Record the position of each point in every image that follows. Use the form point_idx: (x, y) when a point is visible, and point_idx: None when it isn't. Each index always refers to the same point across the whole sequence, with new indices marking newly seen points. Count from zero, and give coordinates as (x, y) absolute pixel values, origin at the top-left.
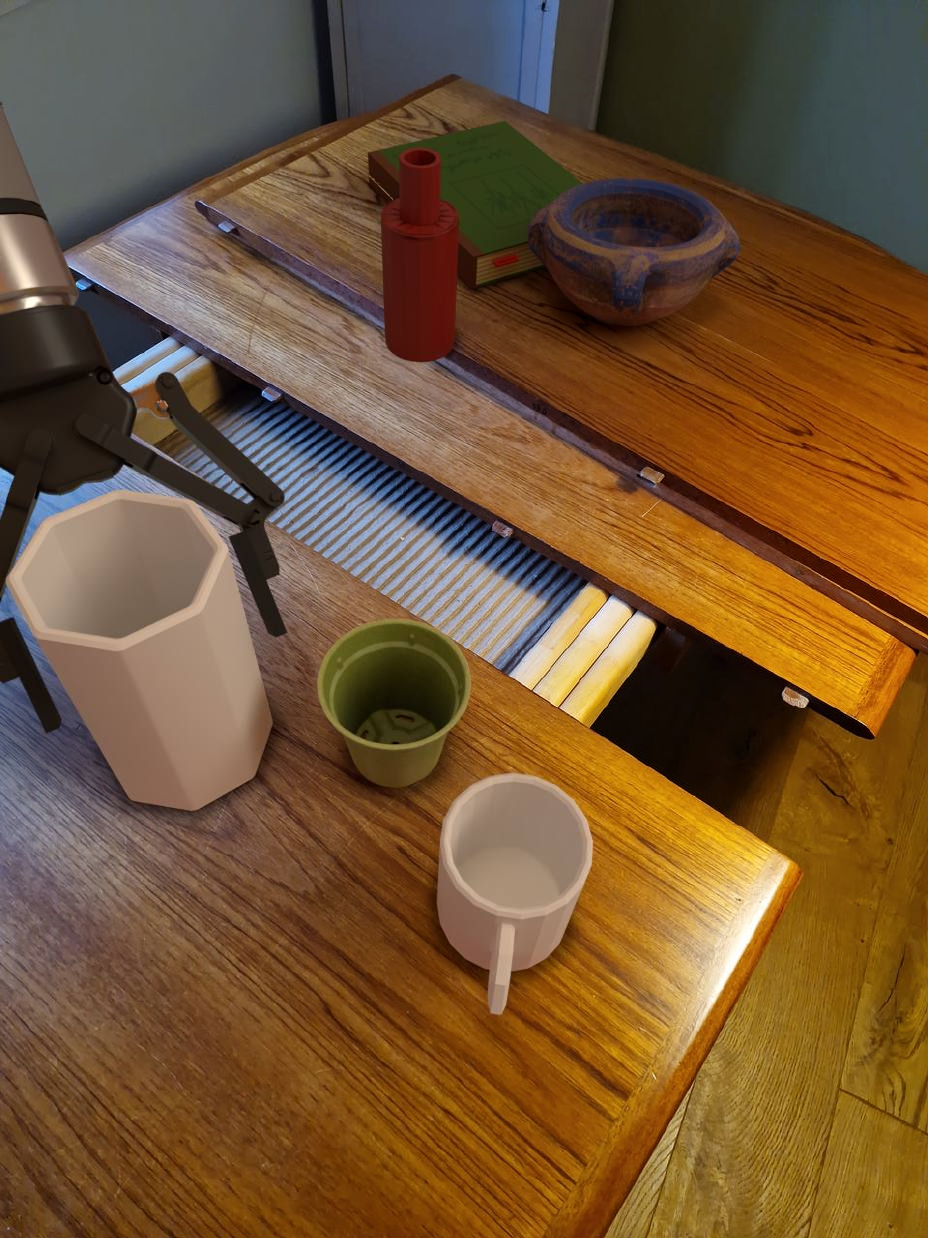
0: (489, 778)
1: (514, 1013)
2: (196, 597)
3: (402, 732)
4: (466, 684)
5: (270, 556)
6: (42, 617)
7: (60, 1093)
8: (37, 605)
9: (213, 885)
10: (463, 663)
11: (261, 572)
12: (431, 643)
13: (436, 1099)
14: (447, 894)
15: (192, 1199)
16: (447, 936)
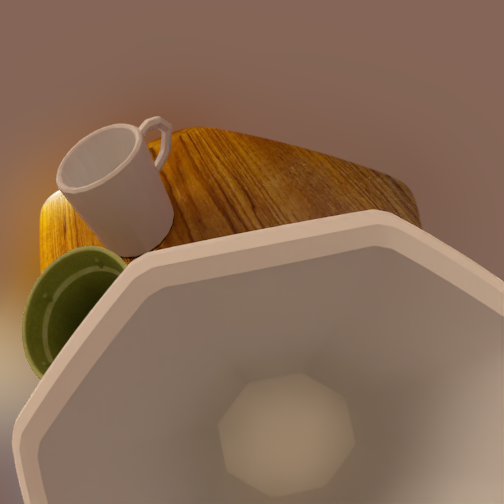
0: (75, 189)
1: (167, 180)
2: (123, 296)
3: None
4: (38, 282)
5: None
6: (471, 481)
7: None
8: (485, 491)
9: None
10: (28, 302)
11: None
12: (37, 347)
13: (220, 162)
14: (151, 170)
15: (337, 165)
16: (172, 212)
